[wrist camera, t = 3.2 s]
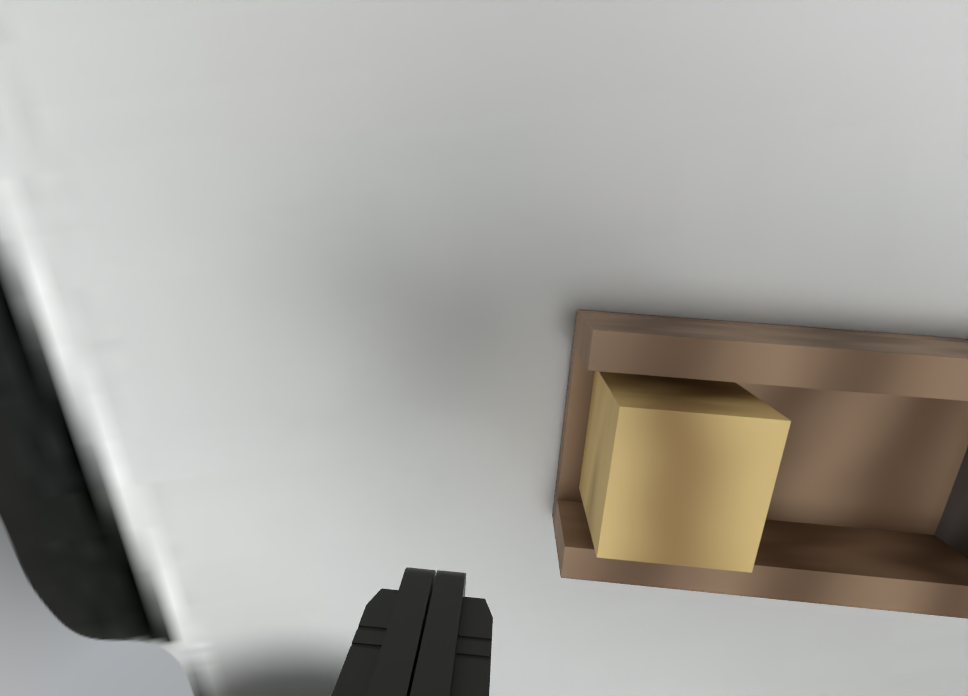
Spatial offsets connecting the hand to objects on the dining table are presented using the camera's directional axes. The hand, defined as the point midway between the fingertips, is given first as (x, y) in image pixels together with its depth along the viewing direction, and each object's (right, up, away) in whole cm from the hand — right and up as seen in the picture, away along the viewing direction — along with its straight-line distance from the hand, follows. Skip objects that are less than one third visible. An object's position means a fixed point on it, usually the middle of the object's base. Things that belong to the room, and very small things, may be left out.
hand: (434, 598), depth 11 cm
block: (+9, +2, +11) cm, 14 cm away
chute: (+15, +2, +11) cm, 19 cm away
